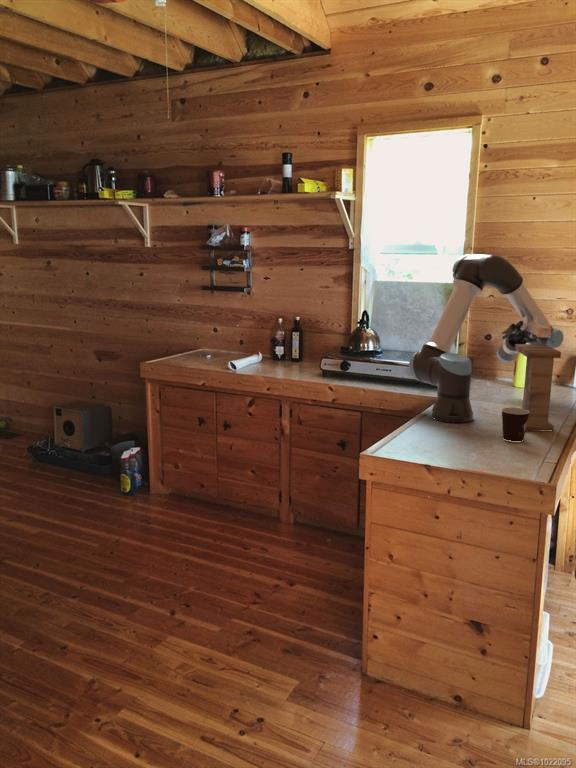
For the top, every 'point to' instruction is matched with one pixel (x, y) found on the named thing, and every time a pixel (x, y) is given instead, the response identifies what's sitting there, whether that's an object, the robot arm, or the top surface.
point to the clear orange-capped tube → (538, 329)
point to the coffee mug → (514, 423)
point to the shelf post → (538, 383)
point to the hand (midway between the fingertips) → (531, 319)
